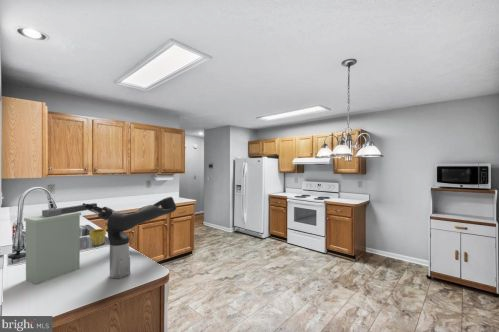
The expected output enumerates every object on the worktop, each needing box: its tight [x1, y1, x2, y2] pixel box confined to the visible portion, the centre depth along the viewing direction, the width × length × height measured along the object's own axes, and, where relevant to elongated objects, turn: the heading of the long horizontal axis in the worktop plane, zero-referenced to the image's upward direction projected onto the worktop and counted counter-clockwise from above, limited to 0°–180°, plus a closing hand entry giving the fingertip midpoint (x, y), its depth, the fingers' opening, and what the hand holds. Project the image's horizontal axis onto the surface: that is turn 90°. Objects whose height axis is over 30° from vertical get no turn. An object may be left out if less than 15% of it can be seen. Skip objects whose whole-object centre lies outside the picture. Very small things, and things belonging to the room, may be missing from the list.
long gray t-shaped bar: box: [41, 202, 98, 217], centre depth 136 cm, size 26×6×3 cm, turn 155°
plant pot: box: [89, 228, 107, 246], centre depth 175 cm, size 10×10×10 cm
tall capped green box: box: [23, 211, 82, 286], centre depth 128 cm, size 21×11×32 cm, turn 155°
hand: (84, 205), depth 142 cm, fingers closed on long gray t-shaped bar, 3 cm apart
